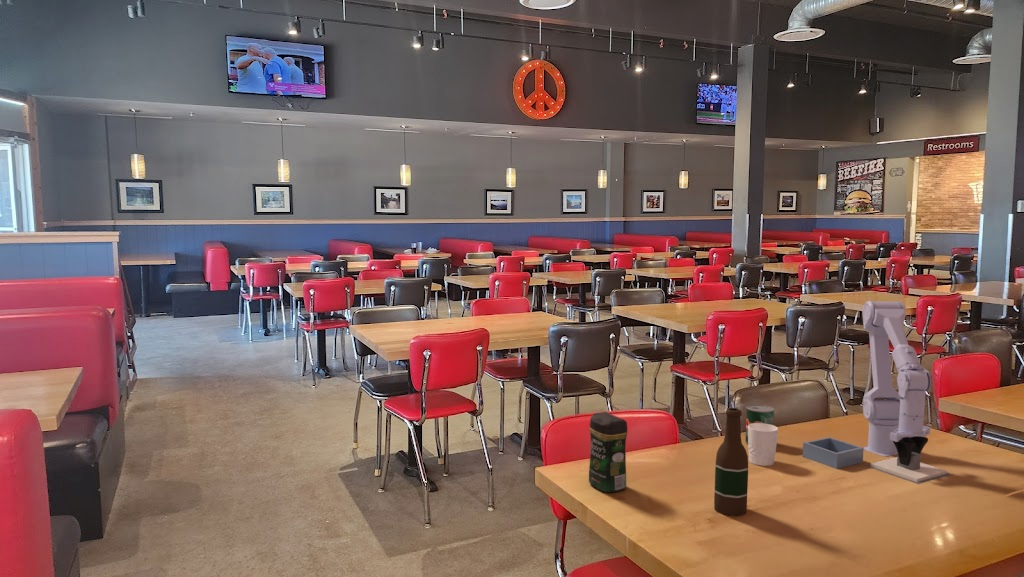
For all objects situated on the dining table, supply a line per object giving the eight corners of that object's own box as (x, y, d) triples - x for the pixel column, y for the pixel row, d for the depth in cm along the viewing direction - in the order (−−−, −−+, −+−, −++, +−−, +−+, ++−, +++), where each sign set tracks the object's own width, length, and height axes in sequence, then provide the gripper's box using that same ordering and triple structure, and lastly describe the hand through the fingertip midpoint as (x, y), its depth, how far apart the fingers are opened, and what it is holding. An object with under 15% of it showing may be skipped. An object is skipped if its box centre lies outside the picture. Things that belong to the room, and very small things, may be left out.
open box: (828, 452, 205) (829, 436, 205) (862, 463, 196) (863, 447, 195) (802, 457, 200) (803, 442, 200) (836, 470, 190) (837, 454, 190)
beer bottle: (707, 503, 168) (711, 405, 165) (739, 502, 168) (743, 404, 166) (720, 517, 160) (723, 414, 157) (753, 516, 160) (757, 413, 158)
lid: (900, 458, 198) (901, 442, 198) (946, 473, 187) (948, 456, 187) (870, 466, 192) (871, 449, 192) (916, 482, 181) (918, 463, 180)
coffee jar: (583, 482, 180) (584, 412, 179) (608, 477, 184) (610, 408, 182) (605, 496, 172) (606, 421, 170) (631, 490, 176) (633, 417, 174)
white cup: (772, 457, 200) (773, 423, 199) (779, 467, 192) (781, 431, 191) (743, 456, 201) (745, 422, 200) (750, 466, 193) (751, 430, 192)
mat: (898, 458, 200) (898, 457, 200) (952, 475, 187) (952, 474, 187) (864, 467, 193) (864, 465, 193) (918, 485, 180) (918, 484, 180)
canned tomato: (775, 442, 214) (777, 407, 213) (768, 449, 207) (770, 413, 206) (749, 437, 218) (750, 403, 217) (741, 444, 212) (743, 408, 211)
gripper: (909, 421, 181) (906, 472, 183) (942, 414, 188) (939, 463, 189) (883, 414, 187) (880, 464, 189) (917, 408, 194) (914, 455, 196)
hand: (908, 463), depth 190 cm, fingers closed on lid, 3 cm apart
